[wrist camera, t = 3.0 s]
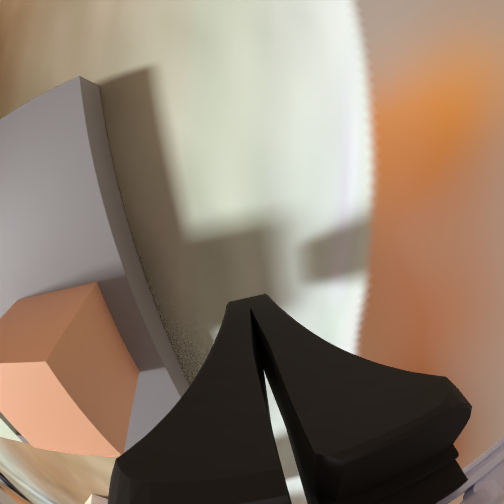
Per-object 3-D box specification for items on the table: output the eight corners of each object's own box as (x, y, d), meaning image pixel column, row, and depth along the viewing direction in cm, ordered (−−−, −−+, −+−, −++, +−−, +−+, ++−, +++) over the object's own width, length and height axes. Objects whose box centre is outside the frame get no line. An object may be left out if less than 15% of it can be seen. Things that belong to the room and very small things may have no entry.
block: (139, 371, 11) (123, 457, 7) (62, 377, 11) (33, 447, 7) (96, 281, 9) (45, 361, 5) (18, 299, 9) (-36, 362, 5)
